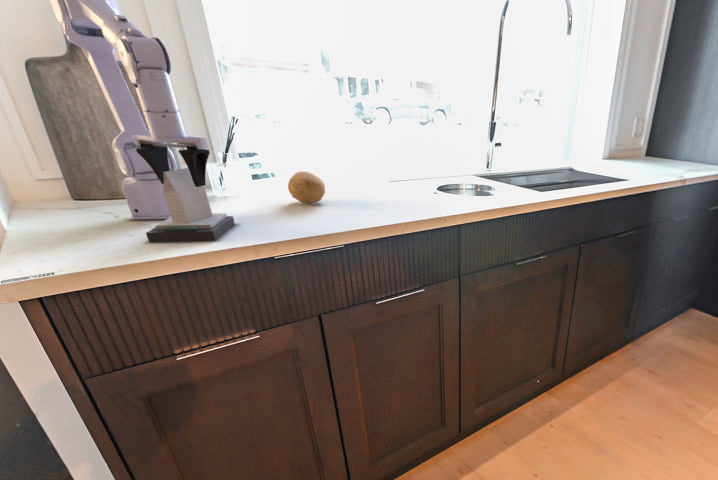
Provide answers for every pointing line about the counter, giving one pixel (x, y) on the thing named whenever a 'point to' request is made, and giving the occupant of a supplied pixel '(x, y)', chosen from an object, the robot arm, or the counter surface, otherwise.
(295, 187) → the potato
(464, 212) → the counter surface
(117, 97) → the robot arm
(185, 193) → the grey angular block
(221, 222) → the scale
